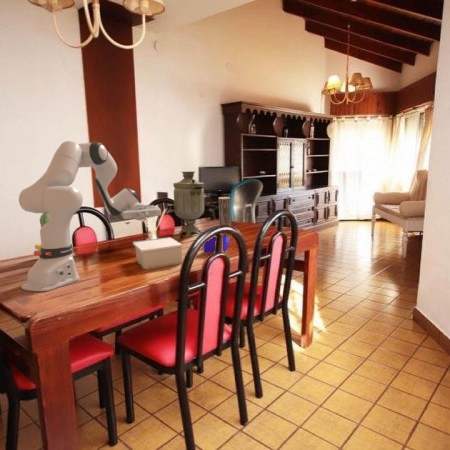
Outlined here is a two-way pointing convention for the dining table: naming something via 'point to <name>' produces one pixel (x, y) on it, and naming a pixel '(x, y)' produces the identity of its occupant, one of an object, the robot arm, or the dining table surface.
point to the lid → (156, 244)
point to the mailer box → (159, 257)
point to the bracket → (210, 244)
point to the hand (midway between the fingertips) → (145, 215)
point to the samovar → (188, 201)
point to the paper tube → (224, 212)
